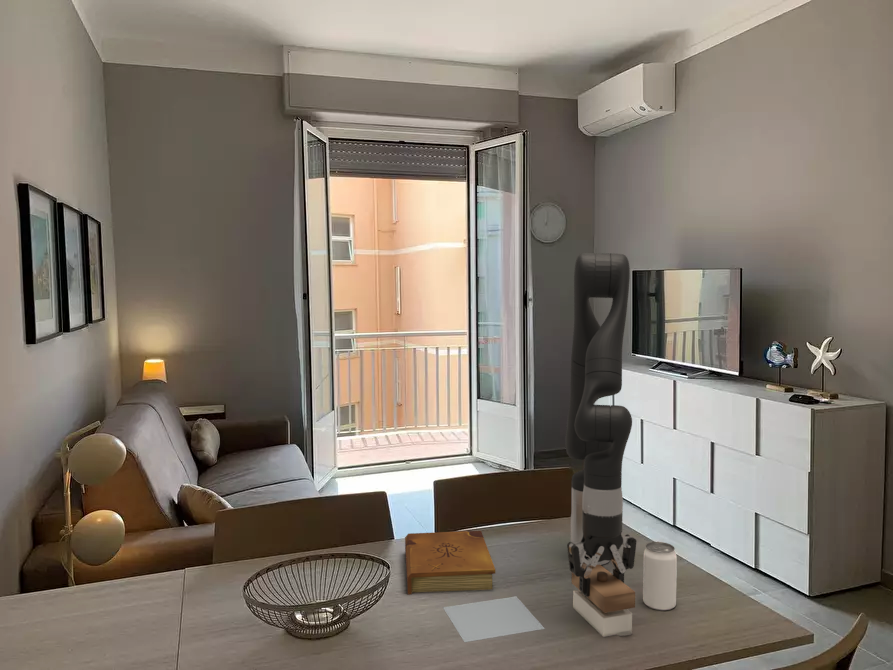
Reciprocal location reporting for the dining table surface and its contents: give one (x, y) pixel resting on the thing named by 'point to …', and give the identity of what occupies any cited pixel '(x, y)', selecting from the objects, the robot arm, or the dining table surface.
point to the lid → (608, 590)
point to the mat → (492, 619)
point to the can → (659, 576)
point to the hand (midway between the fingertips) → (601, 592)
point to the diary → (447, 562)
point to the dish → (603, 617)
